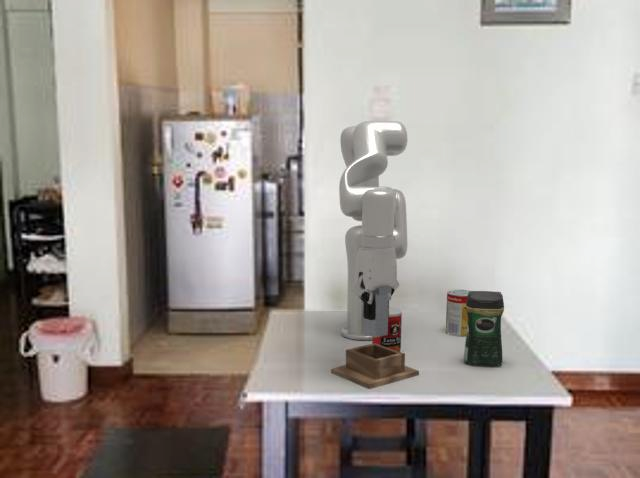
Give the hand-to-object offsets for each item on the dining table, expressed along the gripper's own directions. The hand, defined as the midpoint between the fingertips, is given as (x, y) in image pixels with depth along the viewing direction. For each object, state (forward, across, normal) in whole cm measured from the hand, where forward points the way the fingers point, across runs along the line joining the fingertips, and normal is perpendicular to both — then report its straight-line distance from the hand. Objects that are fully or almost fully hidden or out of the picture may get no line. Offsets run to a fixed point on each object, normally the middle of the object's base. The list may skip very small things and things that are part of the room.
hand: (376, 316), depth 179 cm
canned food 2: (+14, -44, -12) cm, 48 cm away
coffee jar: (+14, -28, +10) cm, 33 cm away
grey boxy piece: (+4, 0, 0) cm, 4 cm away
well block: (+14, 0, 0) cm, 14 cm away
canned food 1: (+14, -15, -12) cm, 24 cm away
